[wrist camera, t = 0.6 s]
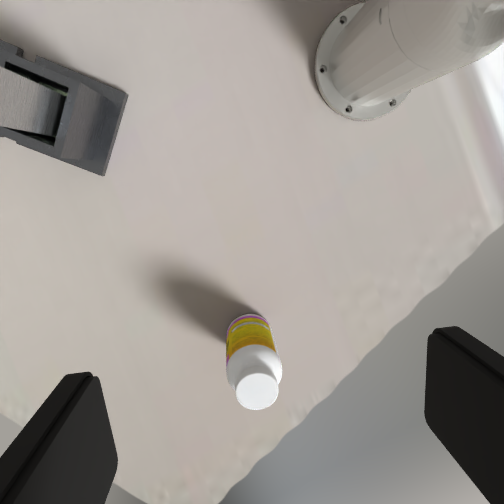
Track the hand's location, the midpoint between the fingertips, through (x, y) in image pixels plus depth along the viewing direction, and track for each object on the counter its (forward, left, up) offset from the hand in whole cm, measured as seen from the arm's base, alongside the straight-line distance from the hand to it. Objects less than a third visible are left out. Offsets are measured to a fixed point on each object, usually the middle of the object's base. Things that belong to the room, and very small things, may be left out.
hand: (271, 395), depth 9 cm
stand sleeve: (-4, -22, -35) cm, 42 cm away
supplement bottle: (+15, +8, -35) cm, 39 cm away
